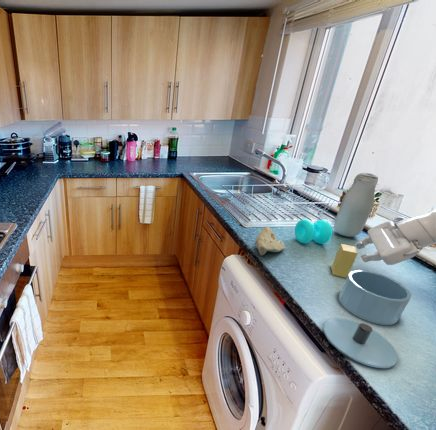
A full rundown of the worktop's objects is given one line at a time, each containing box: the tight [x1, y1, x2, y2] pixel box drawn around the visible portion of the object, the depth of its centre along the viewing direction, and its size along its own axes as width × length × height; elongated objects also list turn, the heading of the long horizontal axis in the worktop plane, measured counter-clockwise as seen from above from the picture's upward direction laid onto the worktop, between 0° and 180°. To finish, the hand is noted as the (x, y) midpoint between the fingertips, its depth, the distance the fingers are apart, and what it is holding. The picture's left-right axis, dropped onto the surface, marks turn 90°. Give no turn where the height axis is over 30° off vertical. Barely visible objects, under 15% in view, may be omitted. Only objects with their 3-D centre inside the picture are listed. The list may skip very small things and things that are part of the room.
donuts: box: [294, 218, 333, 245], centre depth 118 cm, size 10×10×10 cm
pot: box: [338, 269, 412, 326], centre depth 83 cm, size 14×14×8 cm
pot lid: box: [322, 318, 399, 369], centre depth 71 cm, size 15×15×6 cm
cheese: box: [254, 226, 286, 256], centre depth 111 cm, size 15×7×15 cm
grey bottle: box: [333, 172, 379, 238], centre depth 120 cm, size 10×10×28 cm
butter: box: [330, 243, 358, 279], centre depth 98 cm, size 4×5×10 cm
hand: (359, 252), depth 95 cm, fingers open, 8 cm apart
